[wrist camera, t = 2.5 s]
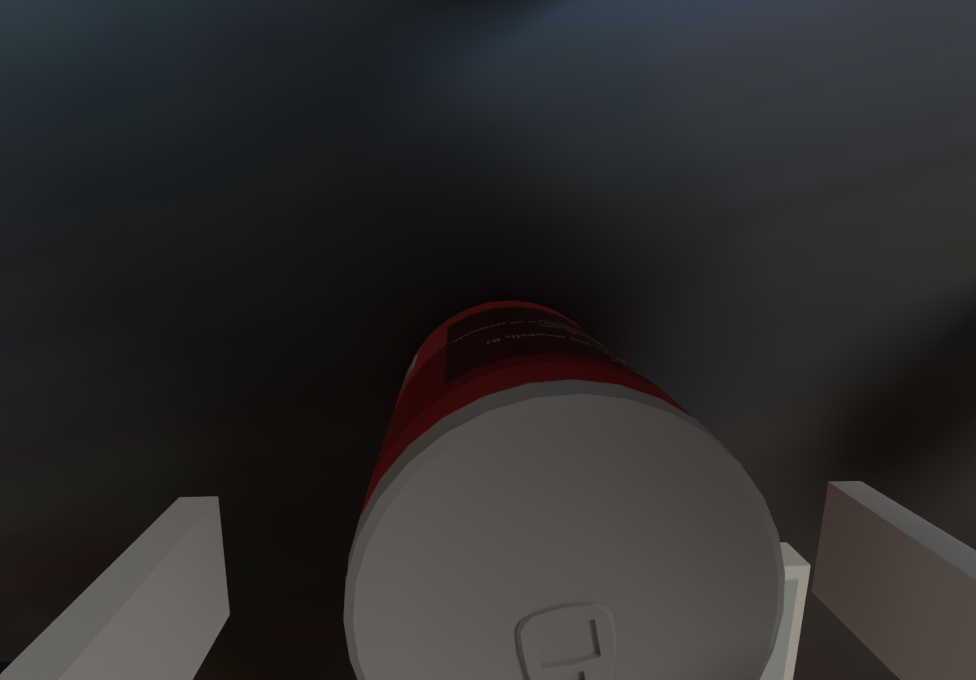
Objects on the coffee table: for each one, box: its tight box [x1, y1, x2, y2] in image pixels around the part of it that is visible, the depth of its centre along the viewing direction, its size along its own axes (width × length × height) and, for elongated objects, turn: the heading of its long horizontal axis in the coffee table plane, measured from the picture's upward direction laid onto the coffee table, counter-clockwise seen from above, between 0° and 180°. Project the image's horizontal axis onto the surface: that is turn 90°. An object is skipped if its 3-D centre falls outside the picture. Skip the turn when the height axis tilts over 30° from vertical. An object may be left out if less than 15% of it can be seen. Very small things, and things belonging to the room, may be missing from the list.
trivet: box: [760, 542, 811, 680], centre depth 22 cm, size 11×11×2 cm
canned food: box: [343, 300, 785, 680], centre depth 14 cm, size 8×8×11 cm
